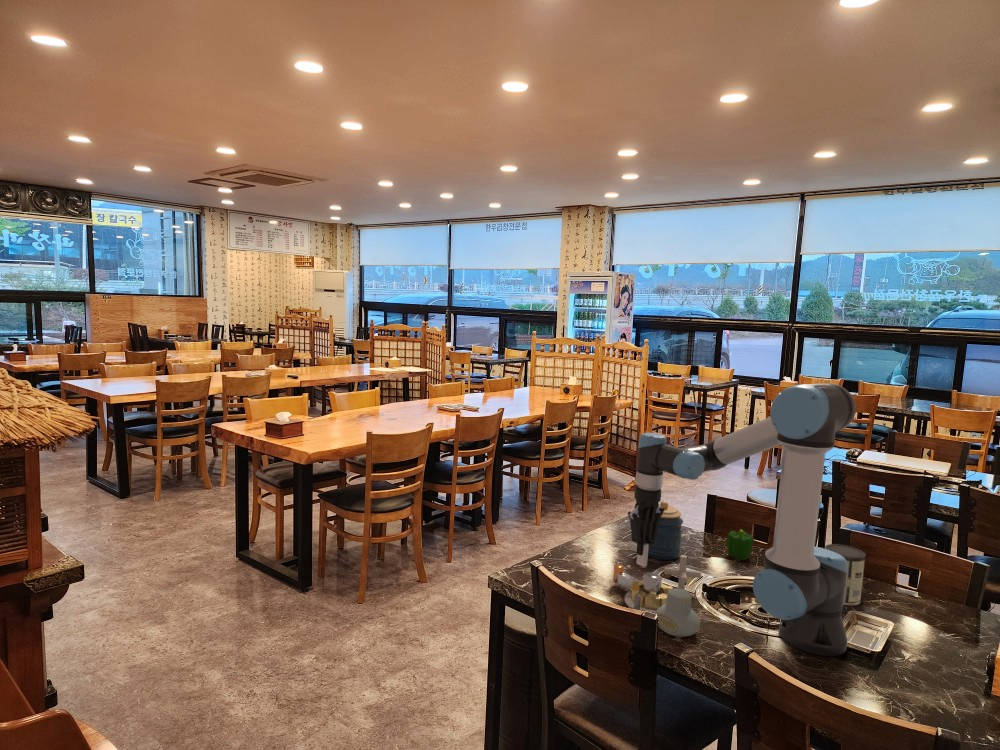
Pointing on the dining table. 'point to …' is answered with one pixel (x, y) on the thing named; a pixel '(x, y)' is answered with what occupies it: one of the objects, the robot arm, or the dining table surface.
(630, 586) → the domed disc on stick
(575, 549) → the dining table surface
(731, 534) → the bell pepper
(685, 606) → the air freshener
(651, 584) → the gold and silver mechanism
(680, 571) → the pipe connector
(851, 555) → the coffee can
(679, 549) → the canister
